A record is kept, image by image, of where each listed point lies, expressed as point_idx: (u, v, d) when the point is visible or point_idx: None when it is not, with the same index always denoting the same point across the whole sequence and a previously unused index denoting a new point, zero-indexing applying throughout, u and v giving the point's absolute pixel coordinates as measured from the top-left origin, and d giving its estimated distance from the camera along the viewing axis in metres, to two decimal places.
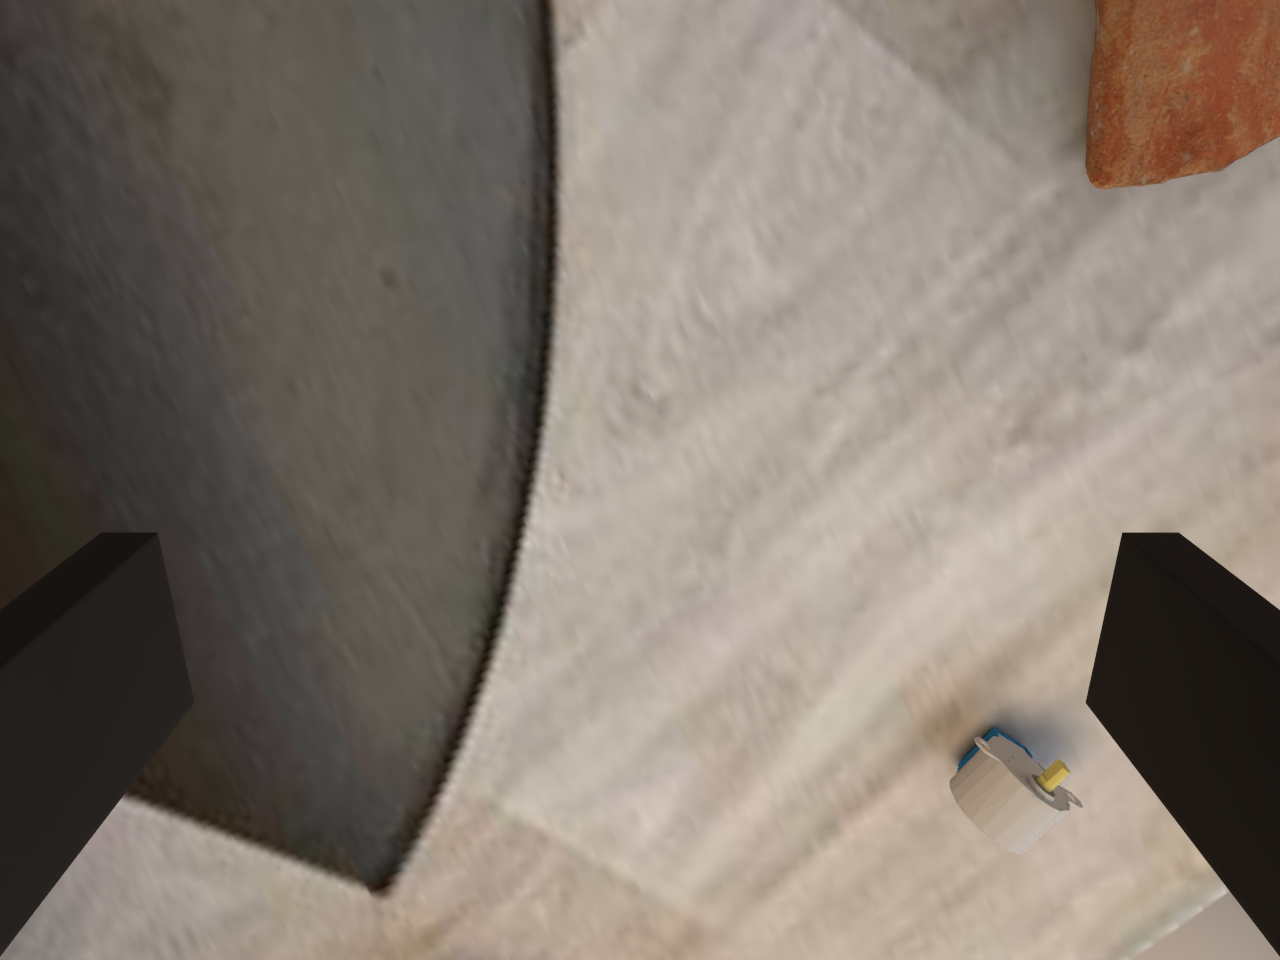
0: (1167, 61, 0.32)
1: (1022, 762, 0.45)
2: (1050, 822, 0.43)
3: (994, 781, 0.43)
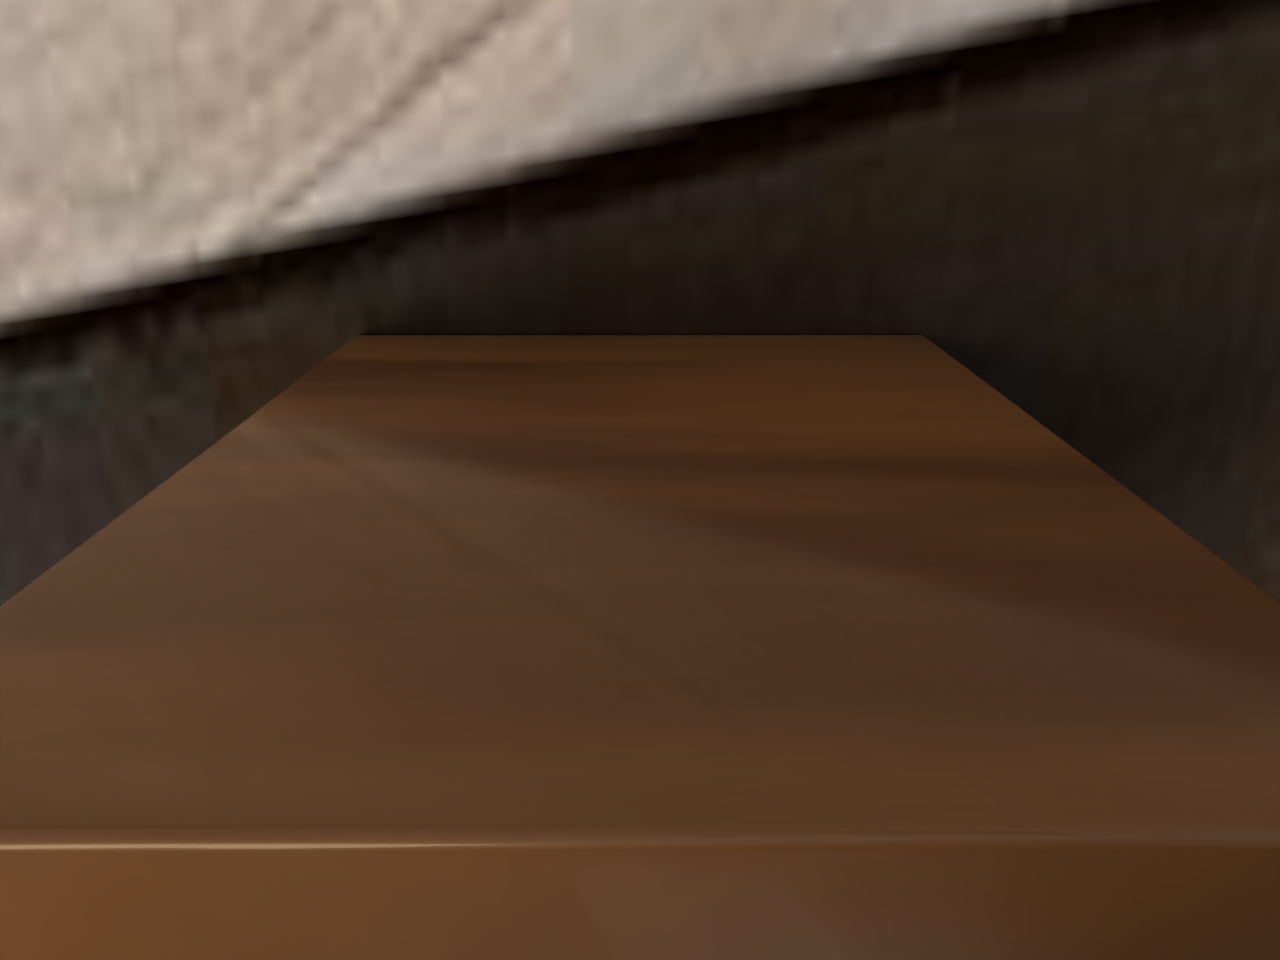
0: None
1: None
2: None
3: None
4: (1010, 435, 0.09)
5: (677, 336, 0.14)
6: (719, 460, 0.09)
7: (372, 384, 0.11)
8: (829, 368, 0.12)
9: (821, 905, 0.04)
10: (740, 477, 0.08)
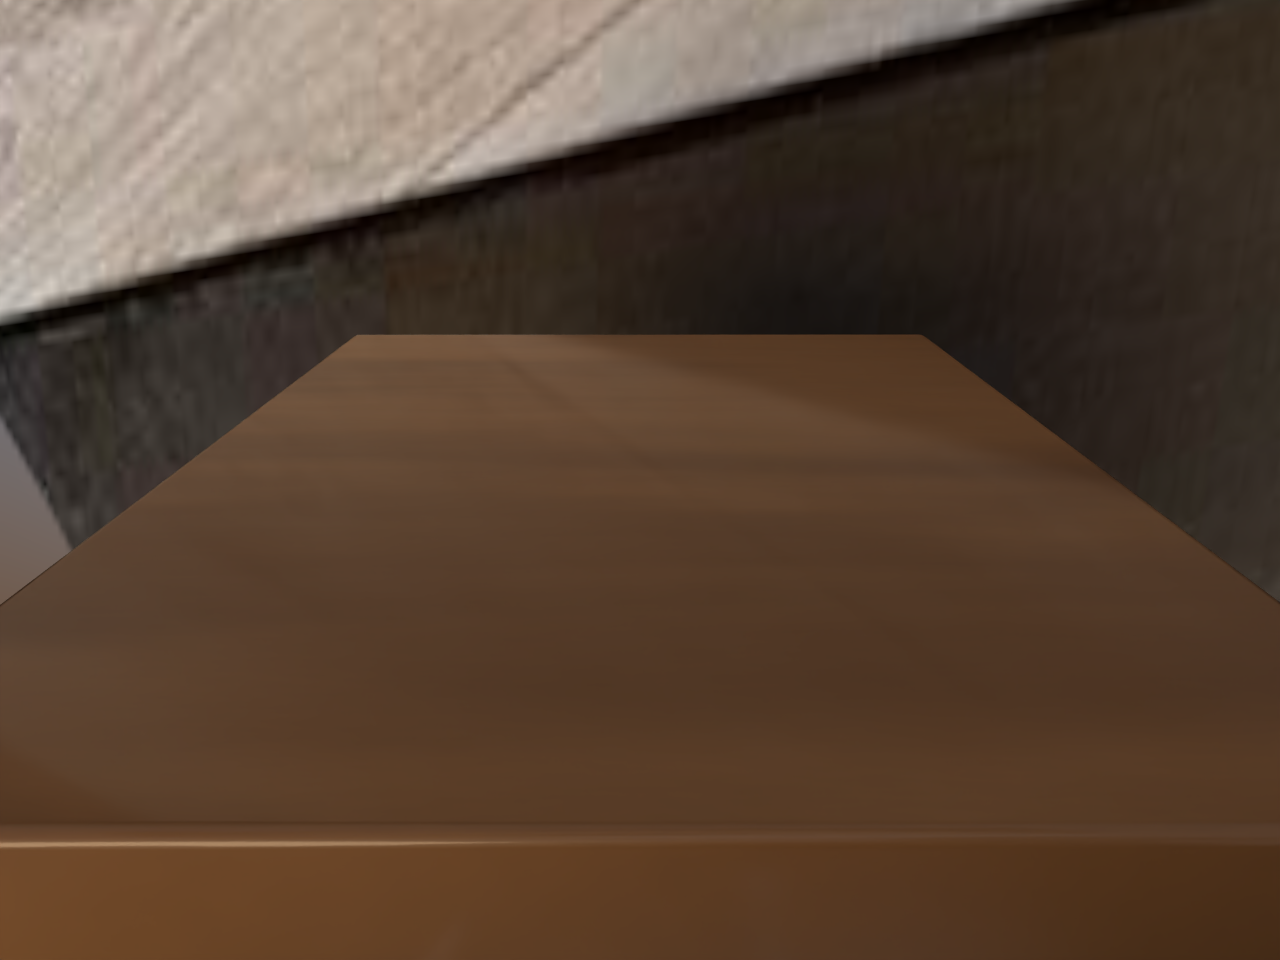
0: None
1: None
2: None
3: None
4: (1010, 434, 0.09)
5: (677, 336, 0.14)
6: (719, 459, 0.09)
7: (372, 384, 0.11)
8: (828, 368, 0.12)
9: (820, 902, 0.04)
10: (739, 477, 0.08)
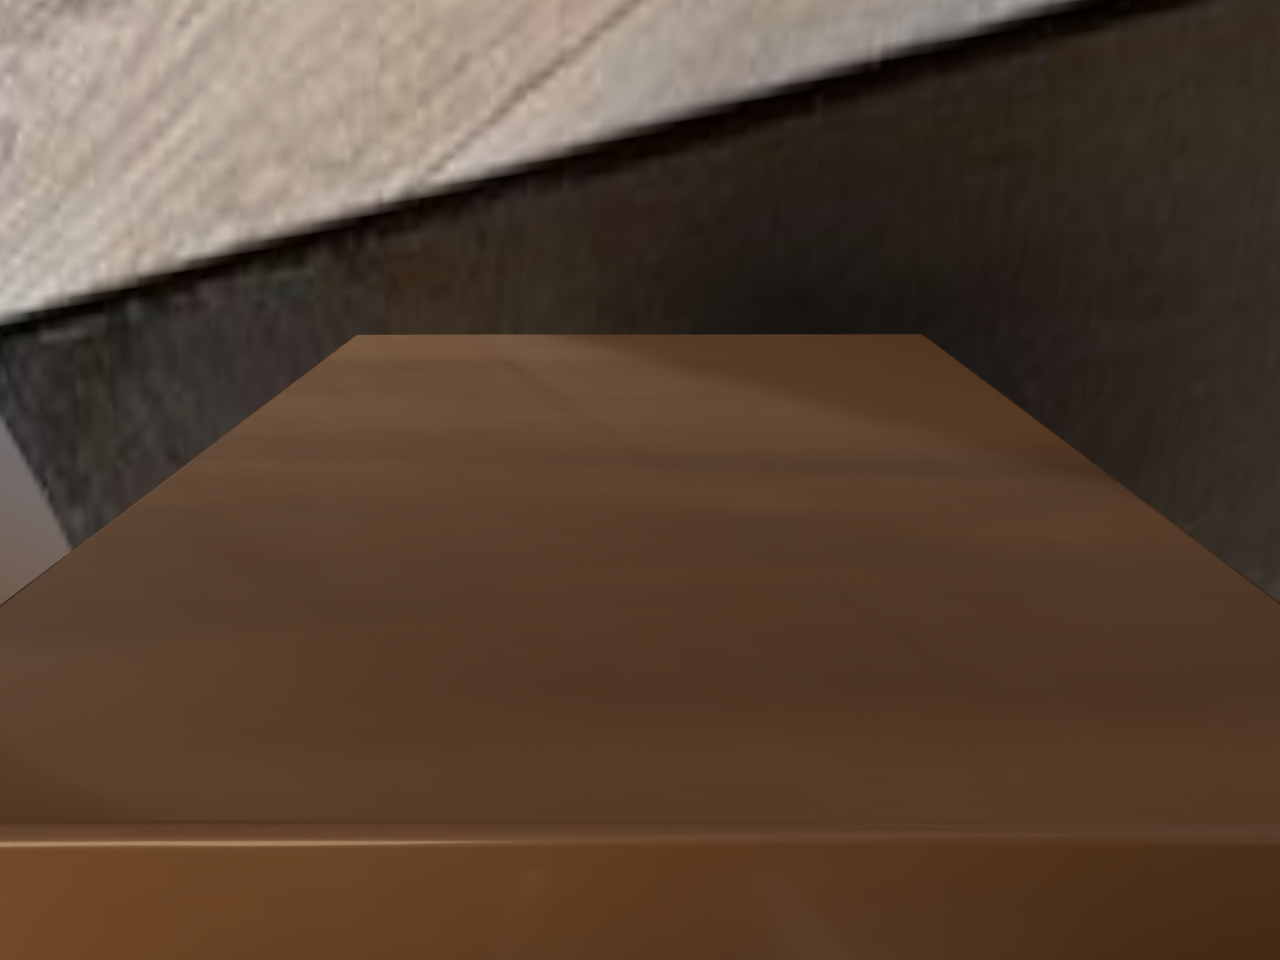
0: None
1: None
2: None
3: None
4: (1009, 434, 0.09)
5: (677, 336, 0.14)
6: (718, 459, 0.09)
7: (372, 384, 0.11)
8: (828, 367, 0.12)
9: (818, 900, 0.04)
10: (738, 476, 0.08)
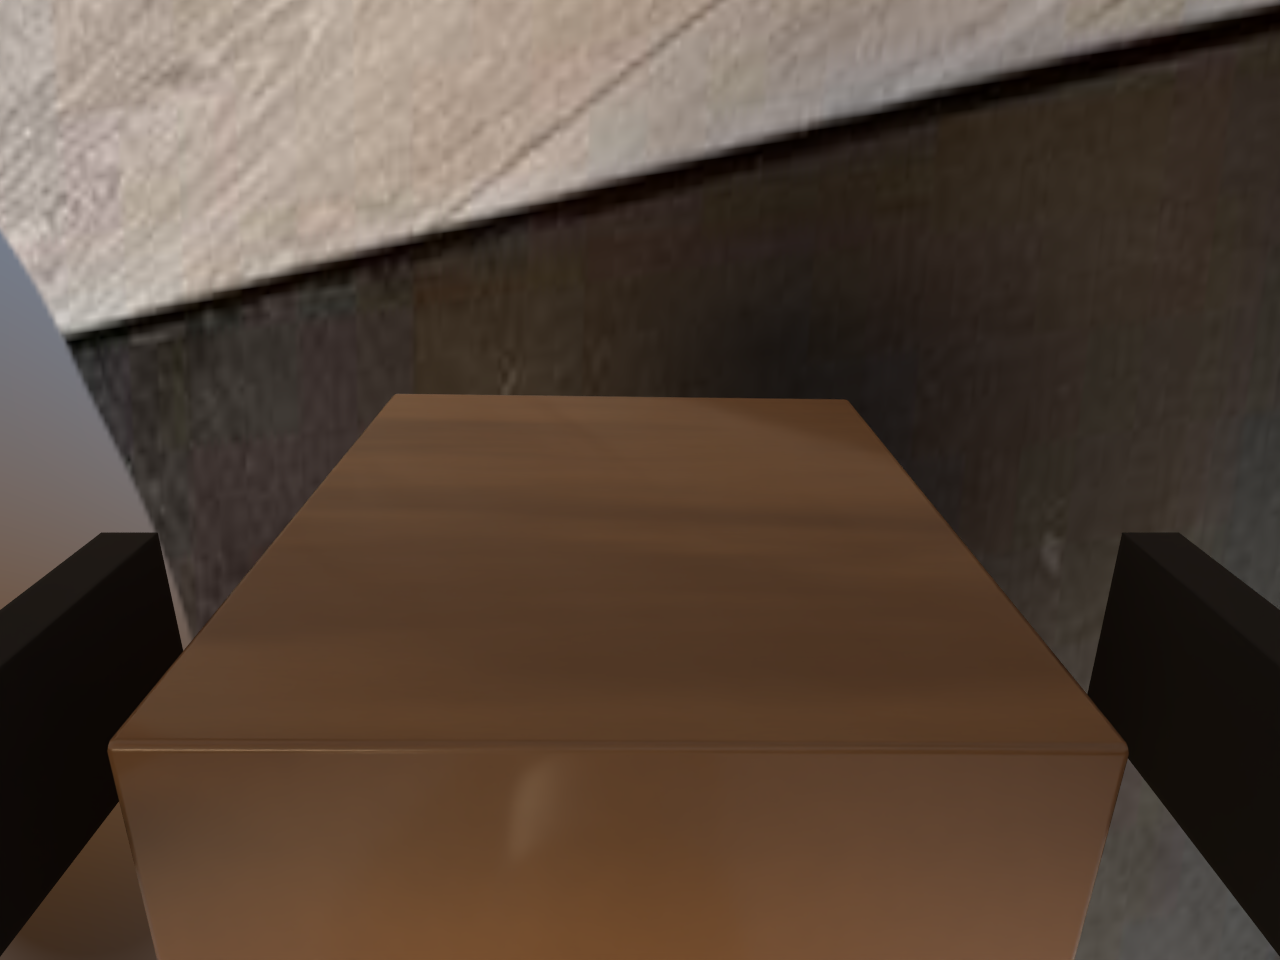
0: None
1: None
2: None
3: None
4: (890, 493, 0.13)
5: (652, 398, 0.17)
6: (679, 512, 0.12)
7: (418, 442, 0.15)
8: (768, 431, 0.16)
9: (721, 784, 0.08)
10: (693, 526, 0.12)
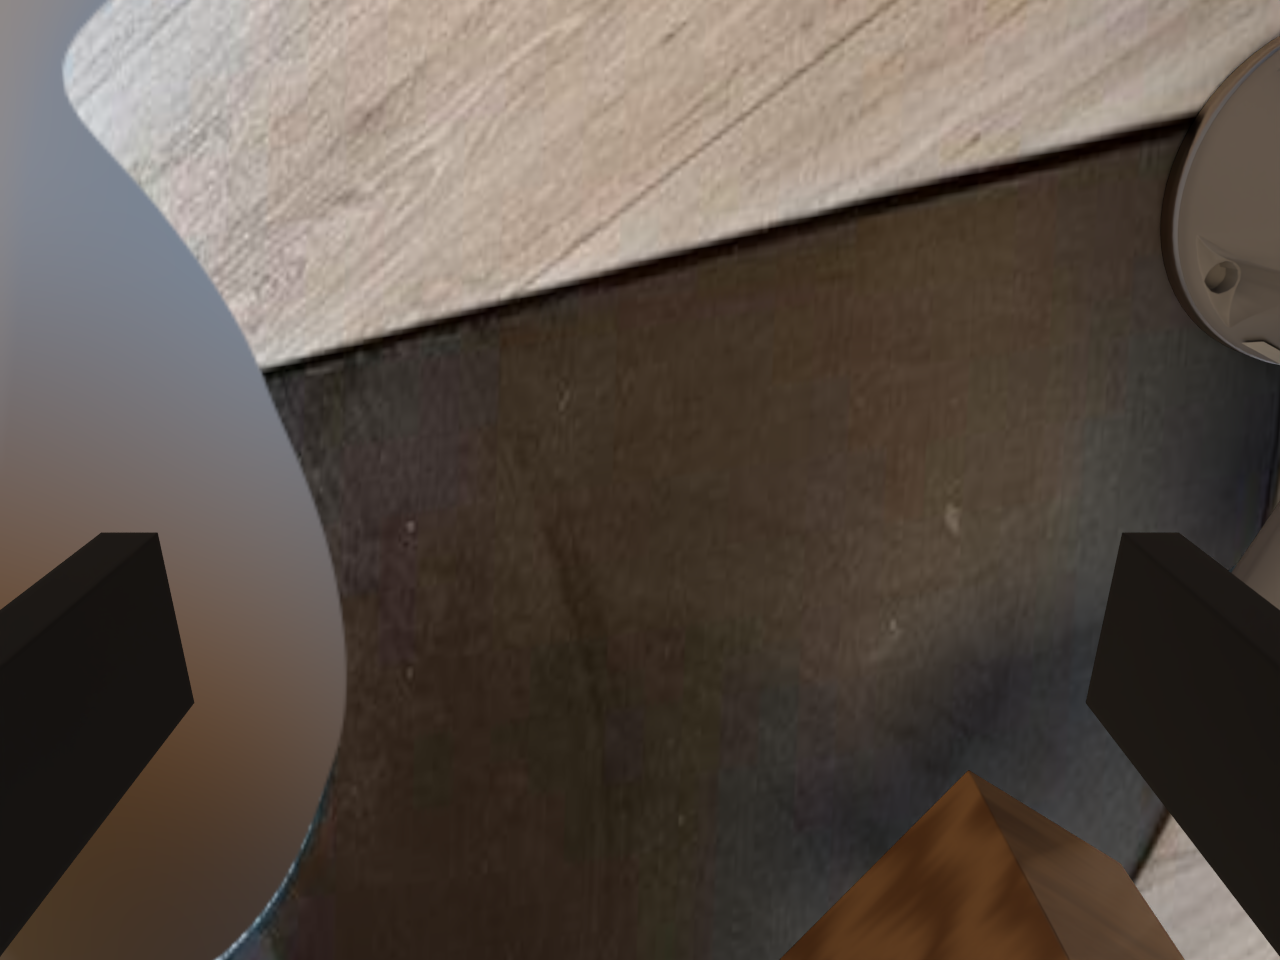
0: None
1: None
2: None
3: None
4: (1175, 954, 0.34)
5: (1058, 826, 0.38)
6: (1128, 936, 0.33)
7: (1015, 831, 0.35)
8: (1114, 882, 0.37)
9: None
10: (1137, 948, 0.33)
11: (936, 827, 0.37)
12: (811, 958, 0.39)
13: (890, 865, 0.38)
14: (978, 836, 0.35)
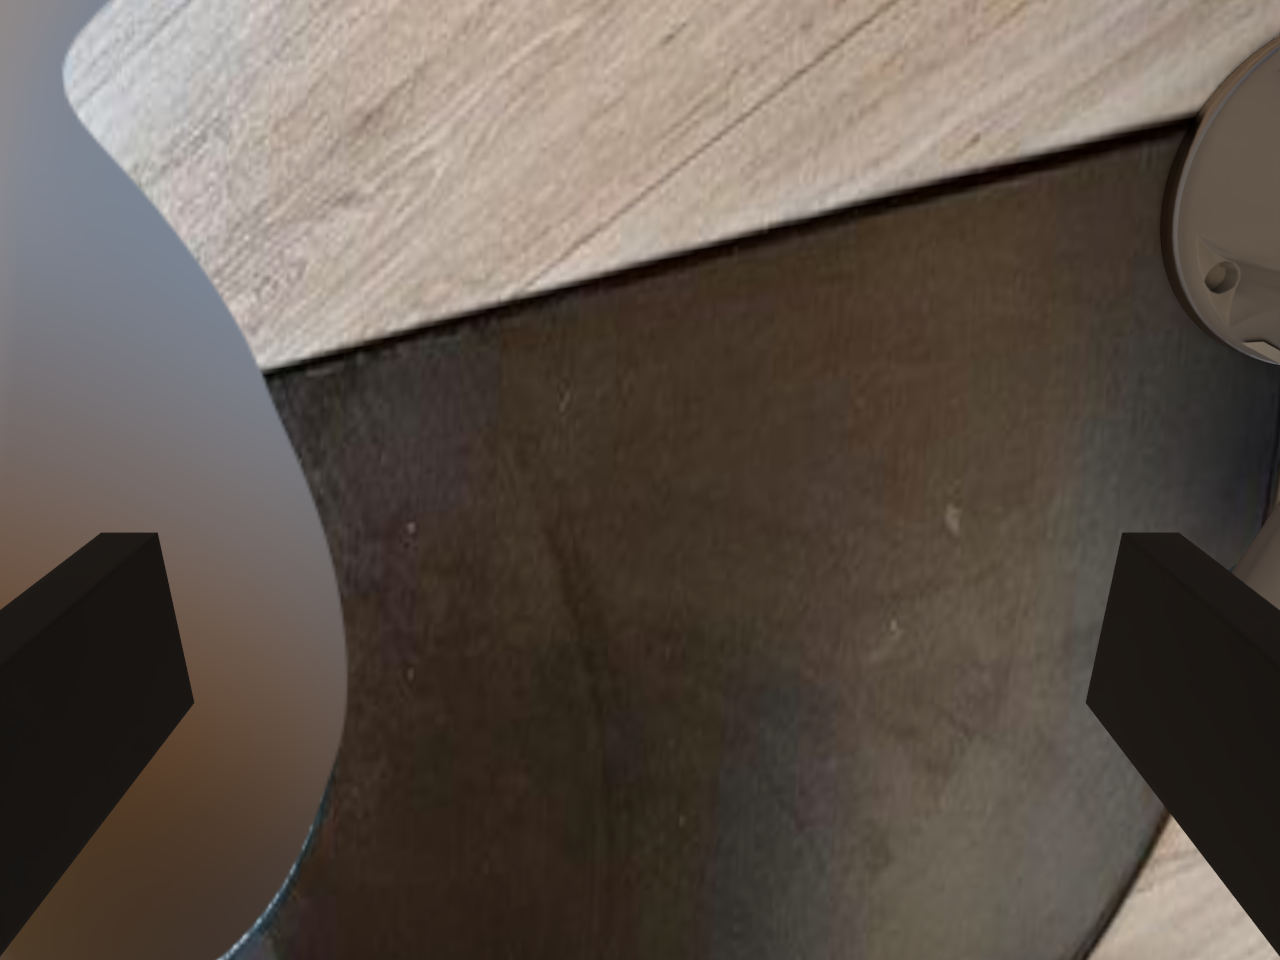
0: None
1: None
2: None
3: None
4: None
5: None
6: None
7: None
8: None
9: None
10: None
11: None
12: None
13: None
14: None
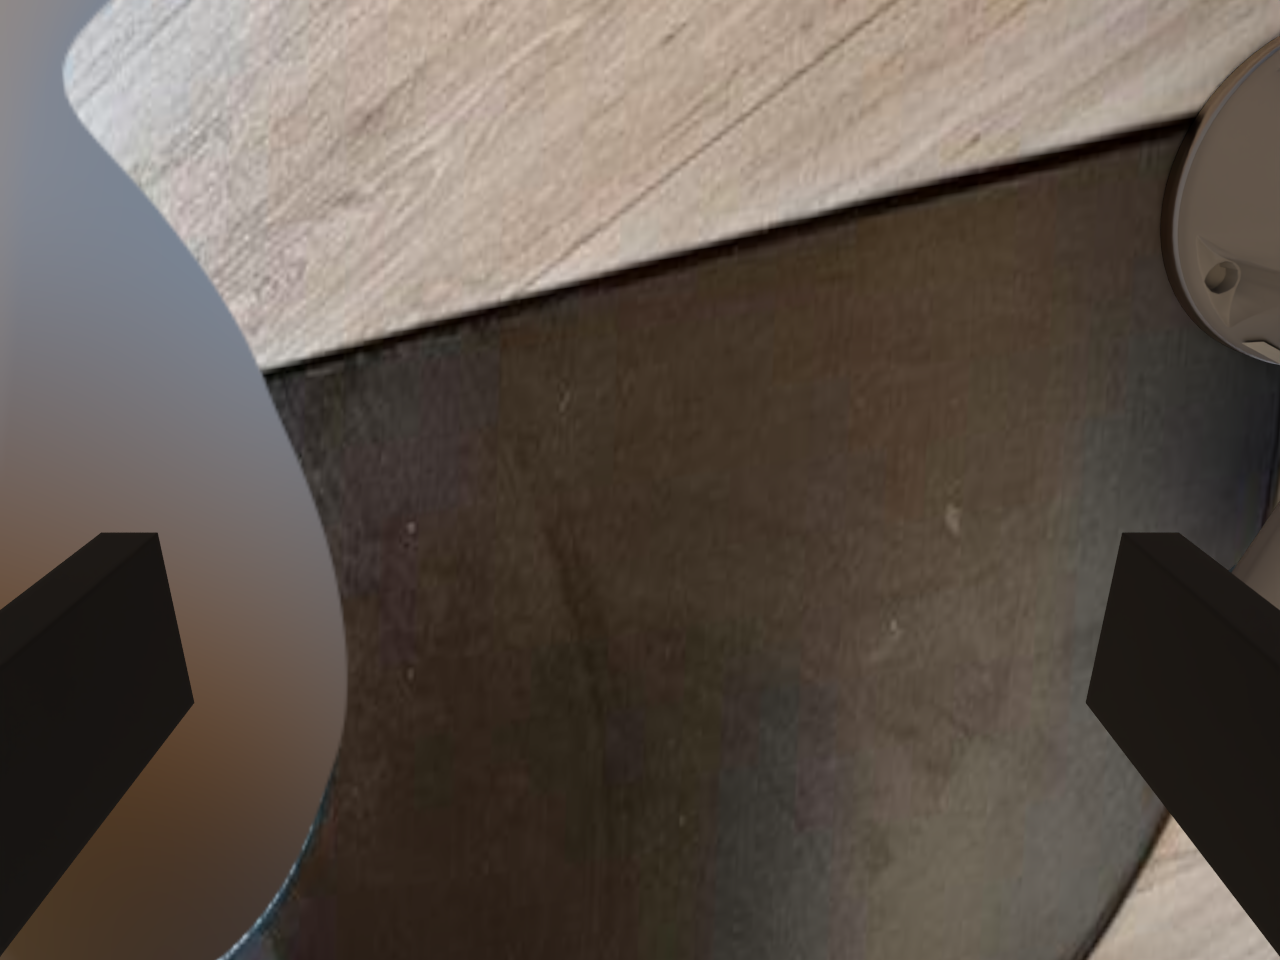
0: None
1: None
2: None
3: None
4: None
5: None
6: None
7: None
8: None
9: None
10: None
11: None
12: None
13: None
14: None
